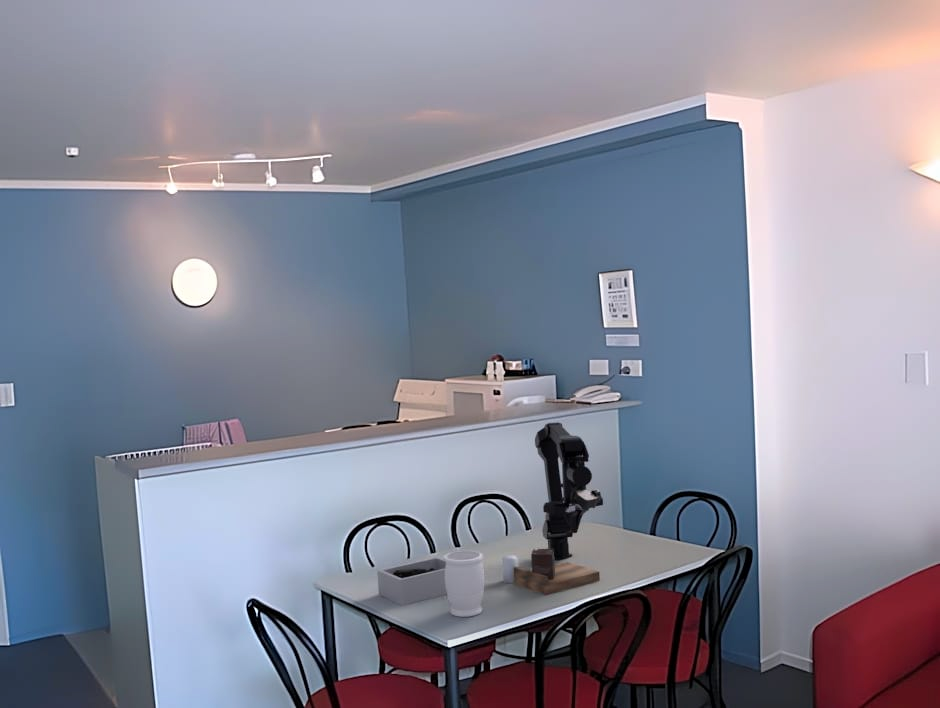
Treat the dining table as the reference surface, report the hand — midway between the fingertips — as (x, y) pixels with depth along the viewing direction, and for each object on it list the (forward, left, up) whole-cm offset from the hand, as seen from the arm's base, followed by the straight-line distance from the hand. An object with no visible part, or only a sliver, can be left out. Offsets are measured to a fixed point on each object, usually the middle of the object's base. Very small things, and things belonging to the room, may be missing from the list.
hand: (574, 532), depth 265 cm
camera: (-16, -44, -13) cm, 49 cm away
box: (+3, -15, -10) cm, 18 cm away
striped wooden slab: (+3, -10, -12) cm, 16 cm away
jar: (+7, -44, -12) cm, 46 cm away
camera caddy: (-16, -44, -12) cm, 48 cm away
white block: (-7, -19, -12) cm, 23 cm away
